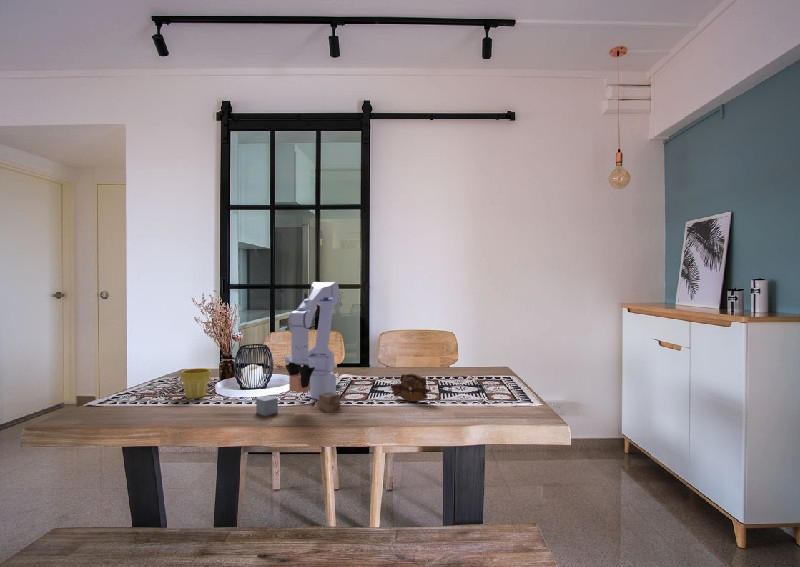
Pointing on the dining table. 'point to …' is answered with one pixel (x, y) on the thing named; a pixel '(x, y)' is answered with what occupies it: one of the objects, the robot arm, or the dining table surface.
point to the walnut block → (329, 401)
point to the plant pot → (195, 382)
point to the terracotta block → (297, 384)
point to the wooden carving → (411, 388)
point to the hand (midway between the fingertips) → (300, 385)
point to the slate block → (266, 405)
